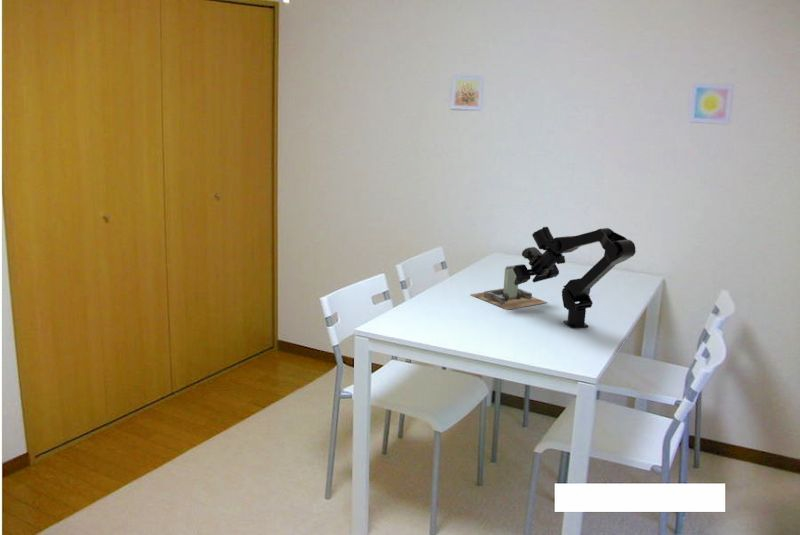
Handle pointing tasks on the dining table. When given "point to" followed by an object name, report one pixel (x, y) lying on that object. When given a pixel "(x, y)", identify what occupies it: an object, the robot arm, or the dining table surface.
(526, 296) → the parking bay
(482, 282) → the dining table surface
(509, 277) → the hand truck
